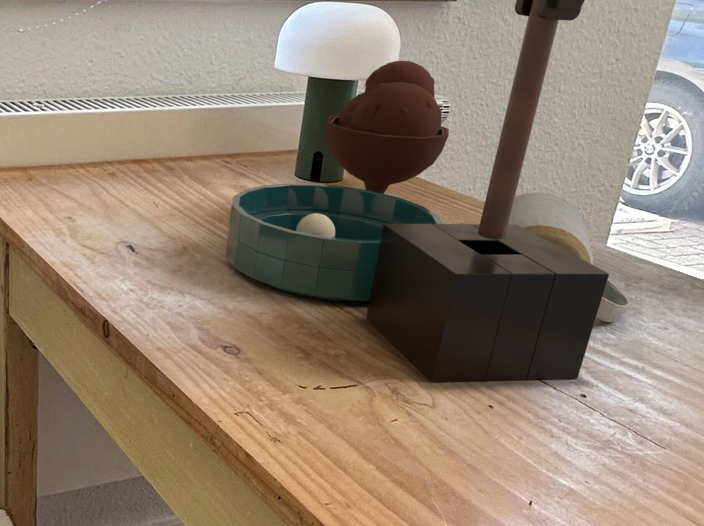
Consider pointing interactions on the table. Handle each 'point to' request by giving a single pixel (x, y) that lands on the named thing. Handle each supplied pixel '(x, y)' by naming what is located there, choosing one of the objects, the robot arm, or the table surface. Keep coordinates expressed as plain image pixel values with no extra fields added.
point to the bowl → (315, 237)
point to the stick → (517, 124)
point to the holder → (483, 302)
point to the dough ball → (316, 225)
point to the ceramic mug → (565, 239)
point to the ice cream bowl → (389, 127)
